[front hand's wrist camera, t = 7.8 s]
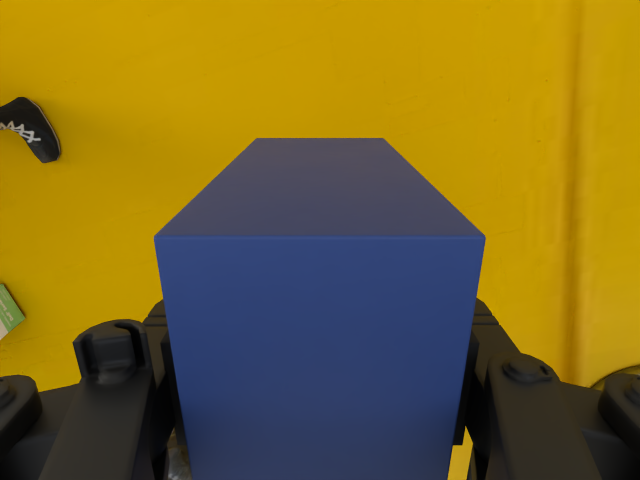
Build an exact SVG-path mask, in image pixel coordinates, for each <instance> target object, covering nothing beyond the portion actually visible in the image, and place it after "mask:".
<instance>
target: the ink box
mask: <svg viewBox="0 0 640 480" xmlns="http://www.w3.org/2000/svg"><path fill="white" fill-rule="evenodd" d="M24 319H25V317H24V315H23V314H22V312H21V311H20V309H19V308H18V306H17V305H16V303H15V302H14V300H13V299H12V297H11V296H10V294H9V293H8V291H7V290H6V288H5V287H4V285H3V284H0V339H2V338H3V337H4V336H5V335H6V334H7V333H9V332H10V331H11V330H12V329H13V328H15V327H16V326H17V325H18V324H19V323H21V322H22V321H23V320H24Z"/></svg>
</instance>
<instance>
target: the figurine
mask: <svg viewBox="0 0 640 480" xmlns="http://www.w3.org/2000/svg"><path fill="white" fill-rule="evenodd" d="M7 128H8V129H11V130H13V131H15V132H17V133H19V134H20V135H21V136H22V137H23V139H24V140H25V141H26V143H27V144H28V146H29V147H30V149H31V150H32V152H33V153H34V154H35V156H36V157H37V158H38V159H39V160H40V161H41V162H42V163H47V162H51V161H55V160H58V157H59V155H60V147H59V141H58V138H57V136H56V134H55V132H54V130H53V128H52V127H51V125H50V123H49V122H48V120H47V118H46V117H45V115H44V114H43V112H42V110H41V109H40V107H39V106H38V105H36V104H35V103H34V102H32V101H31V100H30V99H27V98H24V97H18V98H16V99H15V100H13V101H12V102H10V103H8V104H6V105H4V106H2V107H0V130H3V129H7Z"/></svg>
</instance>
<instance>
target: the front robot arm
mask: <svg viewBox="0 0 640 480" xmlns="http://www.w3.org/2000/svg"><path fill="white" fill-rule="evenodd" d="M73 346H74V350H75V354H76V358H77V362H78V365H79V369H80V373H81V377H82V378H81V380H80V383H78V384H74V385H71V386H67V387H62V388H57V389H52V390H48V391H43V392H38V389H37V386H36V383H35V381H34V380H33V379H32V378H30V377H29V376H23V375H11V376H3V377H0V480H168V475H169V465H170V459H169V452H168V447H167V443H168V441H169V438H170V436H171V434H172V431H173V429H174V428H175V434H176V440H177V445H187V444H186V437H185V431H184V425H183V419H182V412H181V406H180V400H179V393H178V387H177V381H176V375H175V368H174V362H173V356H172V350H171V343H170V337H169V331H168V324H167V318H166V312H165V306H164V299H163V300H161V301H160V302H158V303H157V304H155V306H154V307H153V309H152V310H151V311H150V313H149V314H148V317H146V318H145V320H144V321H143V322H142V323H141V322H140V321H135V320H131V319H118V320H112V321H108V322H103V323H101V324H98V325H96V326H93V327H90V328H89V329H87V330H86V331H84V332H83V333H81V334H79V335H78V337H77V338H76V339H75V340H74V341H73ZM465 426H466V427H467V430H468V432H469V435H470V437H471V439H472V442H473V447H472V452H471V458H470V463H469V469H468V474H467V480H640V366H636V367H632V368H628V369H625V370H622V371H619V372H617V373H614V374H611V375H610V376H608V377H606V378H605V379H603V380H601V381H600V382H599V383H597V384H596V385H595V386H593V387H592V388H587V387H582V386H577V385H572V384H568V383H565V382H561V381H560V380H559V377H558V376H557V374H556V373H555V372H554V370H553V369H552V368H551V367H550V366H548V365H547V364H546V363H544V362H543V361H541V360H539V359H537V358H535V357H532V356H530V355H527V354H523V353H520V351H519V350H518V349H517V347H516V346H515V344H514V343H513V342H512V340H511V339H510V338H509V336H508V335H507V333H506V332H505V331H504V329H503V328H502V327H501V325H499V322H498V321H497V320H496V318H495V317H494V316H492V313H491V311H490V310H489V309H488V307H487V306H486V305H485V303H484V302H482V301H481V300H479V299H478V298H476V302H475V309H474V315H473V321H472V327H471V334H470V340H469V346H468V353H467V359H466V365H465V372H464V378H463V384H462V390H461V397H460V403H459V409H458V416H457V422H456V428H455V434H454V441H453V445H462V444H463V438H464V432H465Z"/></svg>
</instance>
